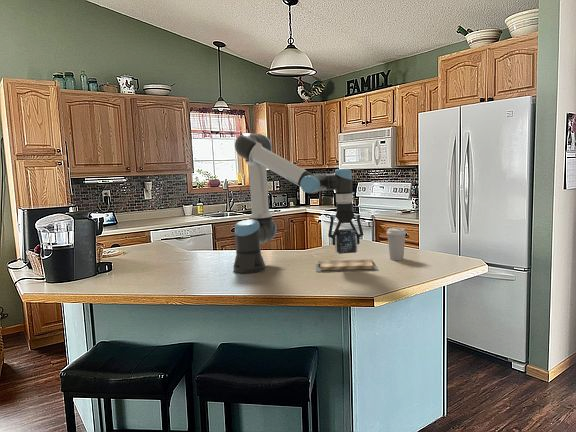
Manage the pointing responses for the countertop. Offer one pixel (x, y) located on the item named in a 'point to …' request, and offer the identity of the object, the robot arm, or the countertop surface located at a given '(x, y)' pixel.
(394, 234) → the coffee cup
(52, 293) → the countertop surface
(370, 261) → the floor strip
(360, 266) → the plank
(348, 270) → the underlay
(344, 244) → the box
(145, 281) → the countertop surface
